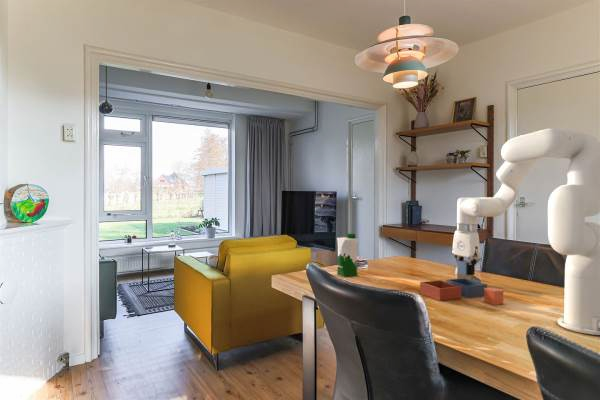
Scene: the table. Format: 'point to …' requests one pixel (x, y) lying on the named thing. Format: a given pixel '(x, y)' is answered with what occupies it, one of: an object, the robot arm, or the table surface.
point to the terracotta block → (493, 296)
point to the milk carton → (347, 255)
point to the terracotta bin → (440, 290)
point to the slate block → (462, 267)
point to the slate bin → (469, 287)
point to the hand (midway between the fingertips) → (465, 272)
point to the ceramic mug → (467, 276)
